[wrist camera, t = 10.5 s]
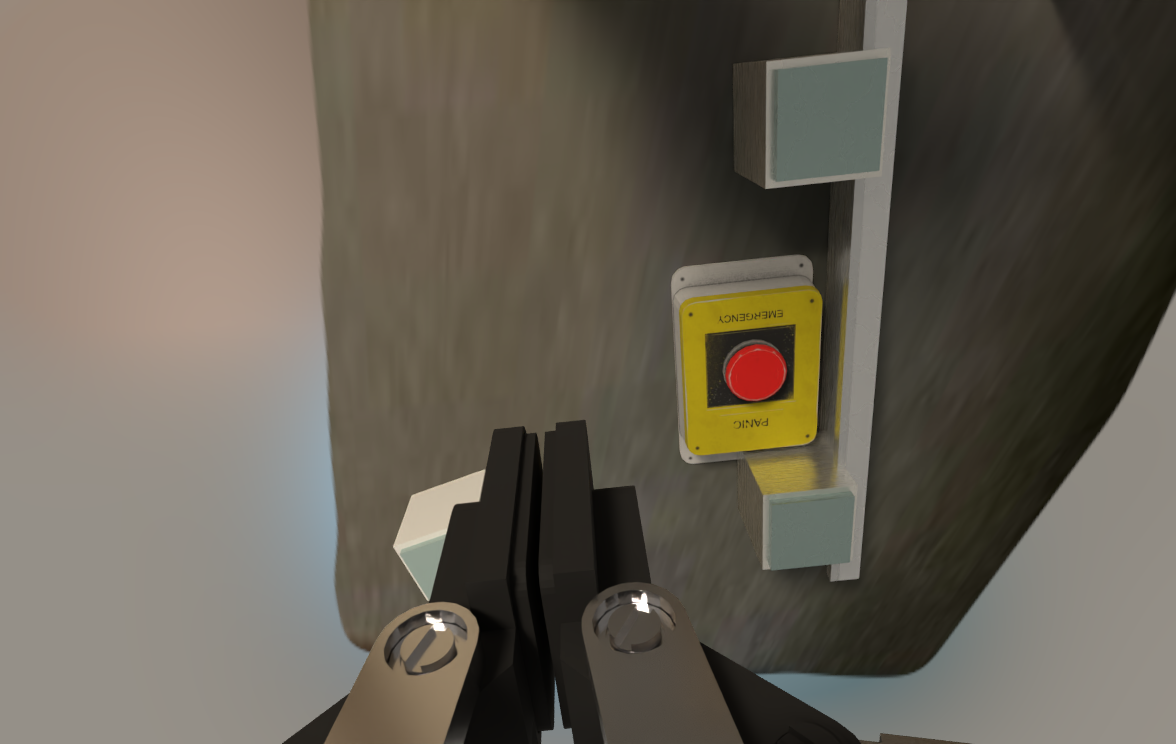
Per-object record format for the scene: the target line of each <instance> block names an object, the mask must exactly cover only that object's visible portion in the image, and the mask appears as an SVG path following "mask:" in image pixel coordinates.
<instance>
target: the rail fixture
mask: <svg viewBox="0 0 1176 744" xmlns="http://www.w3.org/2000/svg"><path fill="white" fill-rule="evenodd" d="M906 9H907V0H839V20H838V41H837V52H834V53H825V54H816V55H807V56H798V57H789V58H780V59H771V60H762V61H753V62H744V63H735V64H733V121H734V171H735V172H736V173H738V174H740V175H742V176H744V177H745V178H747V179H749V180H751V181H752V182H754V183H756V184H758V185H759V186H761V187H763V188H765V189H770V188H779V187H788V186H798V185H807V184H816V183H825V182H831V191H830V212H829V233H828V255H827V276H826V297H825V319H824V340H823V361H822V383H821V404H820V425H819V431H817V433H816V436H815V439H813V440H812V441H811V442H810V443H808V444H804V445H797V446H788V447H778V448H768V449H759V450H749V451H740V452H737V486H738V510H739V512H740V515H741V517H742V520H743V522H744V525H745V527H746V530H747V532H748V535H749V537H750V540H751V542H752V545H753V547H754V550H755V552H756V555H757V557H758V560H759V562H760V565H761V567H762V570H765V569H771V570H781V569H791V568H801V567H810V566H820V565H827V573H826V574H827V576H828V578H829V580H830V581H840V580H850V579H859V573H860V561H861V549H862V537H863V525H864V513H865V501H866V489H867V477H868V465H869V453H870V441H871V429H872V417H873V405H874V393H875V381H876V369H877V357H878V345H879V333H880V321H881V309H882V297H883V285H884V273H885V261H886V249H887V237H888V225H889V213H890V201H891V189H892V177H893V165H894V153H895V141H896V129H897V117H898V105H899V93H900V81H901V69H902V57H903V45H904V33H905V21H906Z"/></svg>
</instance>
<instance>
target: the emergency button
mask: <svg viewBox="0 0 1176 744" xmlns="http://www.w3.org/2000/svg"><path fill="white" fill-rule="evenodd" d="M671 294H672V313H673V332H674V350H675V369H676V388H677V407H678V426H679V445H680V453H681V456H682V459H683V460H684V461H686V462H687V463H691V464H698V463H708V462H717V461H727V460H737V452H740V451H749V450H759V449H768V448H778V447H788V446H797V445H804V444H808V443H810V442H811V441H812V440H813V439H815V436H816V433H817V412H818V390H819V367H820V345H821V323H822V298H821V294H820V293H819V291H818V290H817V289H816V288H815V287H814V285H813V267H812V262H811V261H810V260H809V259H808V258H807V257H806V256H805V255H800V254H794V255H785V256H776V257H767V258H758V259H748V260H739V261H730V262H721V263H711V264H702V265H693V266H684V267H682V268H680V269H677V271H676V272H675V273H674V275H673V276H672V282H671Z"/></svg>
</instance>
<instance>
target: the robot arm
mask: <svg viewBox="0 0 1176 744" xmlns="http://www.w3.org/2000/svg"><path fill="white" fill-rule="evenodd" d="M555 680H556V685H557V692H558V698H559V703H560V709H561V715H562V721H563V726H564V728H565V729H567V728H572V734H573V739H574V744H969V743H960V742H952V741H944V740H935V739H926V738H918V737H909V736H900V735H892V734H883V733H880V740H879V742H872V741H864V740H858V739H857V738H856V736H855V735H854V734H853V733H851V732H850V731H849V730H847V729H846V728H845V727H843V726H842V725H841V724H839V723H838V722H837V721H835V720H833V719H832V718H830V717H828V716H826V715H825V714H823V713H821V712H820V711H818V710H816V709H814V708H813V707H811V706H809V705H808V704H806V703H804V702H802V701H801V700H799V699H797V698H795V697H794V696H792V695H790V694H788V693H787V692H785V691H783V690H782V689H780V688H778V687H777V686H775V685H773V684H771V683H770V682H768V681H766V680H764V679H763V678H761V677H759V676H758V675H756V674H754V673H752V672H751V671H749V670H747V669H746V668H744V667H742V666H740V665H739V664H737V663H735V662H733V661H732V660H730V659H728V658H727V657H725V656H723V655H721V654H720V653H718V652H716V651H715V650H713V649H711V648H709V647H708V646H706V645H704V644H702V643H701V642H699V640H698V638H697V635H696V633H695V631H694V628H693V626H692V624H691V622H690V619H689V617H688V615H687V612H686V610H685V608H684V607H683V605H682V604H681V602H680V601H679V599H678V598H677V597H676V596H674V595H673V594H672V593H671V592H669V591H668V590H667V589H664V588H662V587H659V586H656V585H654V584H651V579H650V573H649V567H648V561H647V555H646V549H645V544H644V538H643V532H642V526H641V520H640V514H639V508H638V502H637V496H636V491H635V486H624V487H615V488H605V489H595V490H594V488H593V479H592V470H591V462H590V453H589V445H588V436H587V428H586V421H585V420H579V421H570V422H560V423H556V431H549V432H545V443H544V463H543V469H542V462H541V456H540V449H539V443H538V437H537V434H536V433H530V434H526V430H525V427H524V426H522V427H512V428H503V429H495V430H494V431H493V436H492V441H491V446H490V452H489V457H488V462H487V467H486V473H485V478H484V483H483V488H482V494H481V499H480V501H479V502H470V503H460V504H456V505H454V507H453V510H452V513H451V517H450V521H449V525H448V529H447V533H446V537H445V541H444V545H443V549H442V553H441V557H440V561H439V565H438V569H437V573H436V577H435V581H434V585H433V589H432V593H431V597H430V601H429V603H427V604H424V605H421V606H418V607H415V608H412V609H410V610H408V611H406V612H405V613H403V614H401V615H399V616H398V617H396V618H395V619H394V620H393V621H392V622H391V623H390V624H388V625H387V626H386V627H385V628H384V630H383V631H382V633H381V634H380V635H379V637H378V638H377V640H376V642H375V644H374V646H373V648H372V650H371V651H370V653H369V655H368V657H367V659H366V661H365V664H364V665H363V667H362V670H361V671H360V673H359V675H358V677H357V679H356V681H355V683H354V685H353V687H352V689H351V691H350V693H349V694H348V695H347V696H345V697H344V698H342V699H341V700H340V701H338V702H337V703H336V704H335V705H333V706H332V707H330V708H329V709H328V710H326V711H325V712H324V713H322V714H321V715H320V716H318V717H317V718H316V719H314V720H313V721H312V722H310V723H309V724H308V725H306V726H305V727H304V728H302V729H301V730H300V731H298V732H297V733H295V734H294V735H293V736H291V737H290V738H289V739H287V740H286V741H285V742H284V743H282V744H541V731H546V730H553V729H554V696H555V694H554V693H555Z"/></svg>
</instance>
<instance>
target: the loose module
mask: <svg viewBox="0 0 1176 744" xmlns="http://www.w3.org/2000/svg"><path fill="white" fill-rule="evenodd" d="M485 473H486V469H484V470H481V471H479V472H476V473H473V474H470V475H467V476H465V477H462V478H459V479H456V480H453V481H451V482H448V483H445V484H442V485H439V486H436V487H434V488H431V489H428V490H425V491H422V492H420V493H417V494H414V495H412V496H411V499H410V502H409V504H408V507H407V510H406V513H405V515H404V518H403V521H402V524H401V527H400V529H399V532H398V535H397V538H396V540H395V543H394V546H393V547H394V549H395V550H396V552H397V554H398V555H399V557H400V558H401V560H402V561H403V563H404V565H405V566H406V568H407V569H408V571H409V572H410V574H411V576H412V577H413V579H414V580H415V582H416V583H417V585H418V587H419V588H420V590H421V591H422V593H423V594H424V596H425V598H426V599H427V601H428V600H430V597H431V593H432V589H433V585H434V581H435V577H436V573H437V569H438V565H439V561H440V557H441V553H442V549H443V545H444V541H445V537H446V533H447V529H448V525H449V521H450V517H451V513H452V510H453V507H454V505H456V504H460V503H470V502H479V501H480V499H481V494H482V488H483V483H484V478H485Z"/></svg>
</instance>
